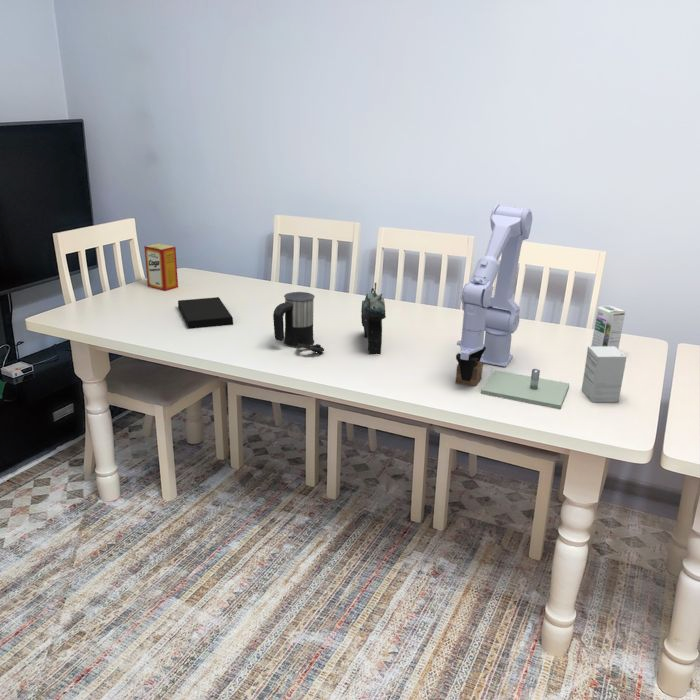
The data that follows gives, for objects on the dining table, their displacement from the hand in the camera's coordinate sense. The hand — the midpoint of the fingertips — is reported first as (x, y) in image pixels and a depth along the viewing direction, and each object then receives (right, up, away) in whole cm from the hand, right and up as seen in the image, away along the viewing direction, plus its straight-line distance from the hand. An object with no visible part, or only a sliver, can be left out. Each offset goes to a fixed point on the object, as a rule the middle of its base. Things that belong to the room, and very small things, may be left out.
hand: (469, 376), depth 184 cm
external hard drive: (-81, +18, +46) cm, 95 cm away
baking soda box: (-103, +31, +77) cm, 132 cm away
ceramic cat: (-26, +8, +25) cm, 36 cm away
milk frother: (-45, +8, +22) cm, 51 cm away
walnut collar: (0, -1, +1) cm, 1 cm away
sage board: (+14, -4, -4) cm, 15 cm away
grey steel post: (+16, -4, -5) cm, 17 cm away
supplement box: (+32, -5, -7) cm, 34 cm away
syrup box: (+44, +5, +21) cm, 49 cm away
